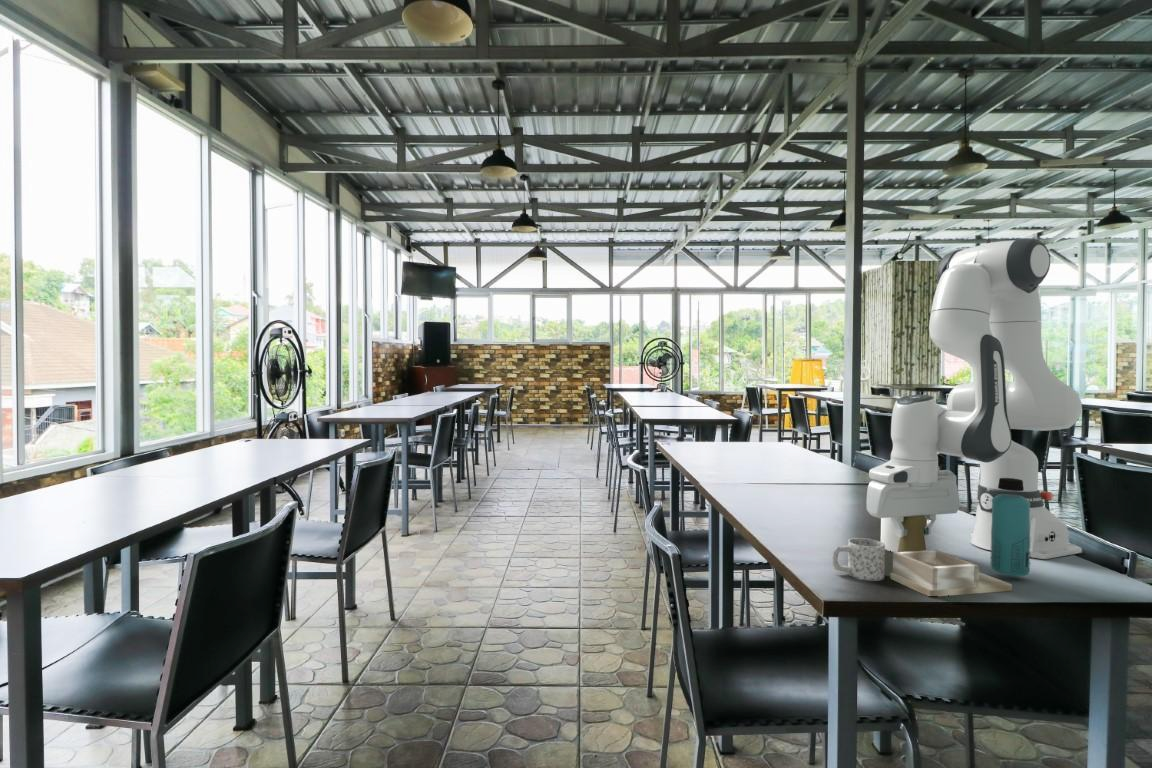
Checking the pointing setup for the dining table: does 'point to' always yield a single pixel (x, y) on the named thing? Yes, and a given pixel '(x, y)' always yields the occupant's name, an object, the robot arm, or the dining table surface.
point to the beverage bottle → (1010, 530)
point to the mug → (862, 559)
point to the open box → (942, 574)
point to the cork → (913, 534)
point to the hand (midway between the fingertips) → (912, 535)
